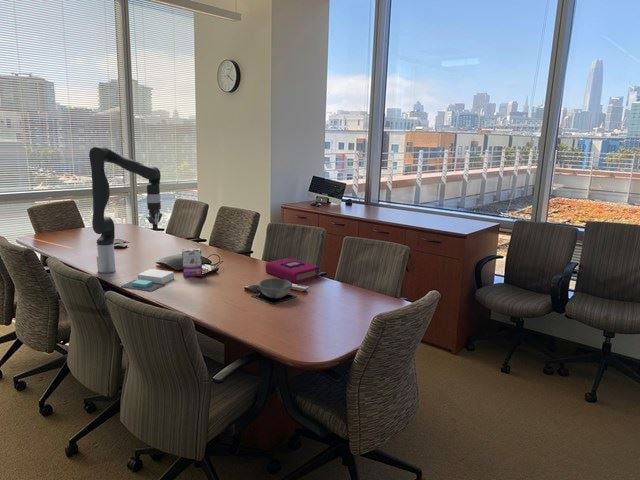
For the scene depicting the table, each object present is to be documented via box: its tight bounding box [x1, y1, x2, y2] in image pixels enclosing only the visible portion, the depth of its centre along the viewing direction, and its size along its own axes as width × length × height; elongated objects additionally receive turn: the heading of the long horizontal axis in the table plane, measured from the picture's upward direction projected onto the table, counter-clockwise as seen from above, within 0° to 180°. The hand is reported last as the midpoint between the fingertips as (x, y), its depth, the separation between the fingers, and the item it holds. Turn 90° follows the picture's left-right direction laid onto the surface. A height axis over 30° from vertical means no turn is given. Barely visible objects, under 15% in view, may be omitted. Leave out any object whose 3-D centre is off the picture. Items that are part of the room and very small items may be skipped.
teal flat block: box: [132, 279, 153, 288], centre depth 267 cm, size 9×6×2 cm, turn 73°
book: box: [265, 257, 321, 284], centre depth 296 cm, size 21×28×8 cm
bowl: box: [258, 278, 293, 299], centre depth 258 cm, size 18×18×8 cm
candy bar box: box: [181, 247, 203, 278], centre depth 288 cm, size 11×5×16 cm, turn 105°
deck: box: [137, 268, 175, 284], centre depth 279 cm, size 16×12×4 cm
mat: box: [120, 279, 166, 292], centre depth 268 cm, size 20×12×1 cm, turn 73°
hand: (155, 230), depth 285 cm, fingers closed
